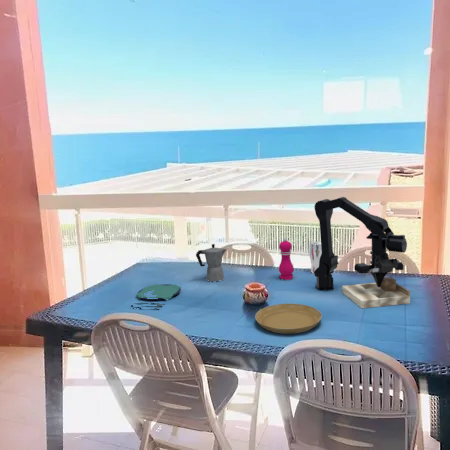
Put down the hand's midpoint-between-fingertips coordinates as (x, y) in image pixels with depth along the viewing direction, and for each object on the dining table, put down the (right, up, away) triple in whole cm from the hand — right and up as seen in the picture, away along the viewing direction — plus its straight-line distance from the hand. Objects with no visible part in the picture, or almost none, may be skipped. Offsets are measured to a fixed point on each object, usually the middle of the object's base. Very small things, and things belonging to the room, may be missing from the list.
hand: (378, 286), depth 188 cm
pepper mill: (-33, -1, +35) cm, 48 cm away
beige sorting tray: (-2, -5, +1) cm, 5 cm away
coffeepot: (-69, -2, +39) cm, 79 cm away
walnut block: (+4, -1, +1) cm, 4 cm away
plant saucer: (-40, -11, -20) cm, 46 cm away
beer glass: (-17, +2, +41) cm, 45 cm away
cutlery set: (-95, -8, +17) cm, 96 cm away
